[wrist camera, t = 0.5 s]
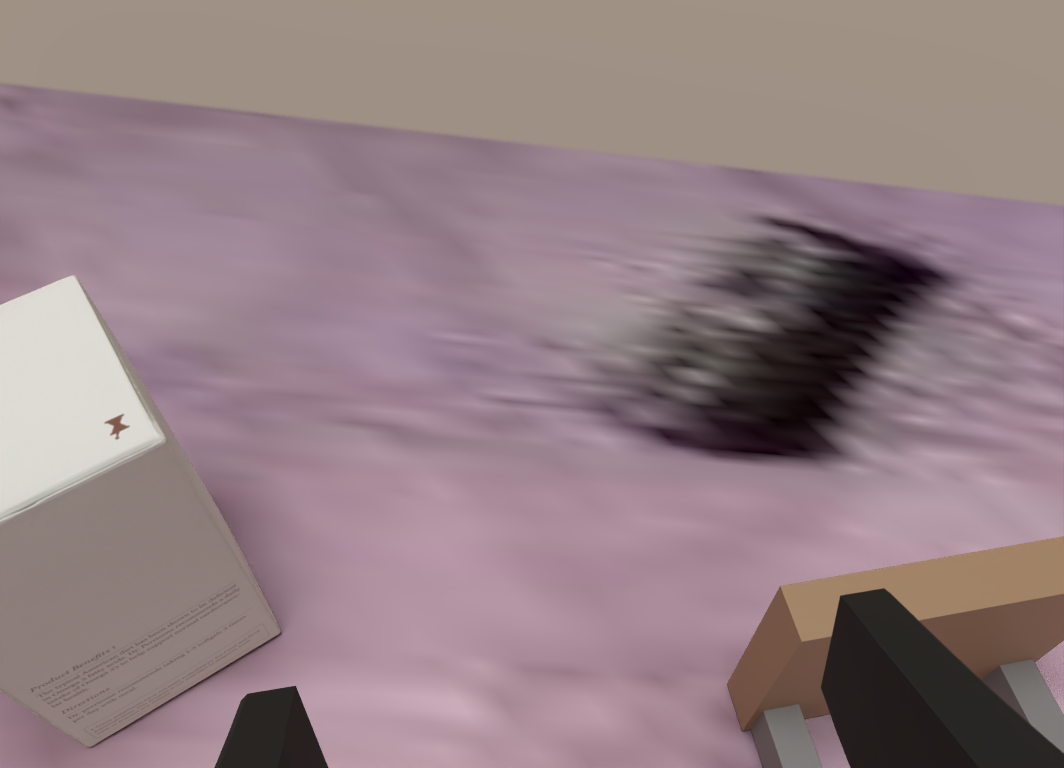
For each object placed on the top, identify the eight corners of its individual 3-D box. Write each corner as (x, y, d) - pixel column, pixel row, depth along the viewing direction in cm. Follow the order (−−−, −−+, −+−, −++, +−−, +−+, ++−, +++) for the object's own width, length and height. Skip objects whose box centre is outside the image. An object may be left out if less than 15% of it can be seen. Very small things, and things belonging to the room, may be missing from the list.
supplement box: (211, 490, 35) (83, 263, 25) (286, 637, 31) (171, 439, 21) (22, 585, 32) (-206, 375, 22) (80, 758, 28) (-164, 598, 18)
